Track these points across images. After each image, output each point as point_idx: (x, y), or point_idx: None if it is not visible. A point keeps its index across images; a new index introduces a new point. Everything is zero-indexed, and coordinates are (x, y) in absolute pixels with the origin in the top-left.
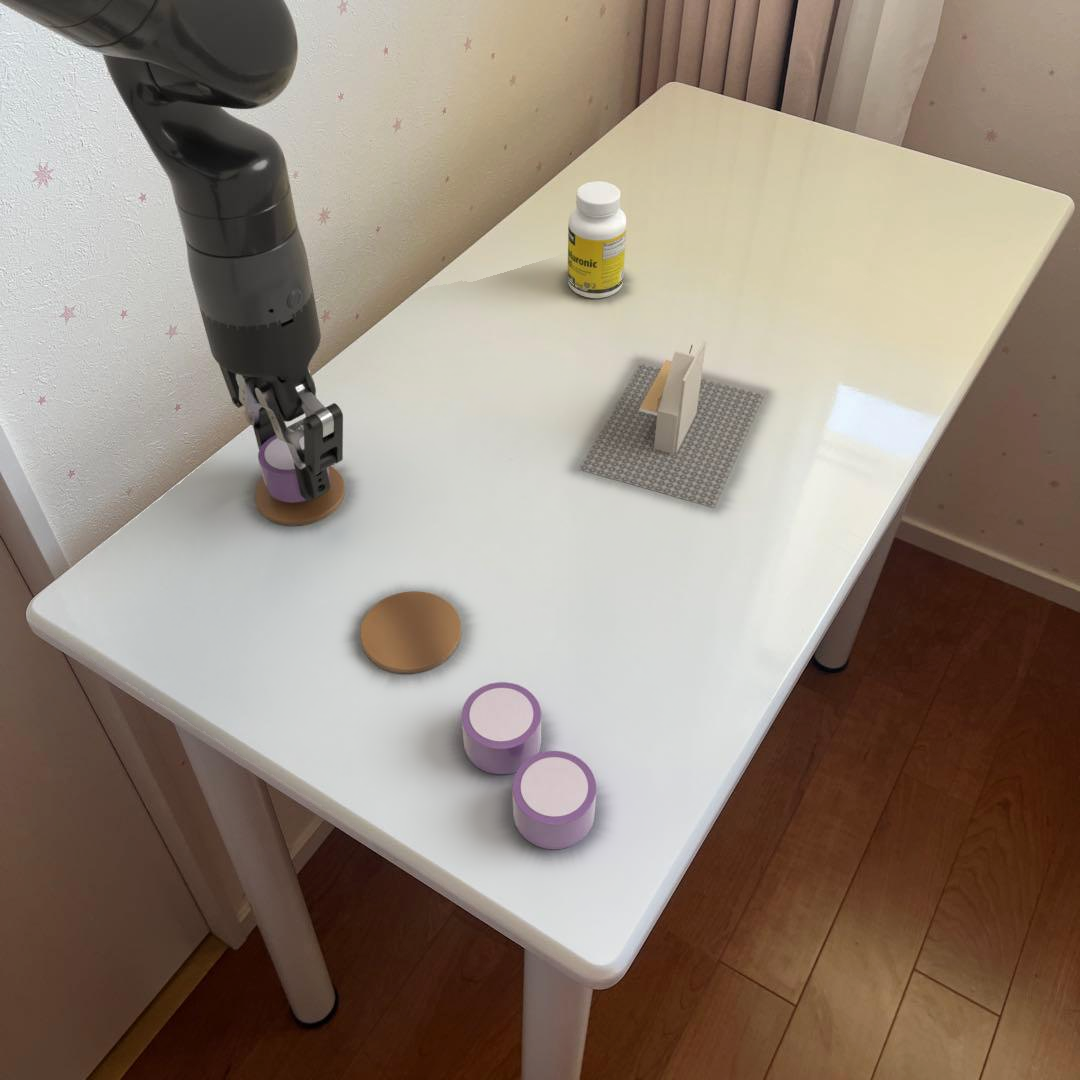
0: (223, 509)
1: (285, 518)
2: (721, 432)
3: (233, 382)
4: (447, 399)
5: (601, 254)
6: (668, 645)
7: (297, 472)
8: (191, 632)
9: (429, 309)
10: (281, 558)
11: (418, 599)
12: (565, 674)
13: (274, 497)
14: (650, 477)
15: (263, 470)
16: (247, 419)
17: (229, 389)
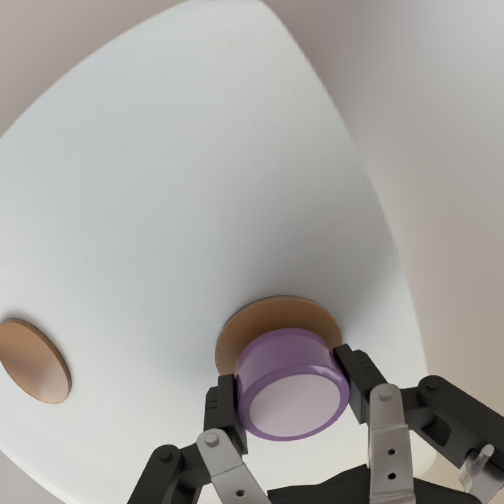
0: (310, 249)
1: (233, 327)
2: None
3: (451, 419)
4: (324, 475)
5: None
6: (28, 455)
7: (226, 413)
8: (90, 140)
9: (421, 462)
10: (166, 295)
11: (58, 389)
12: (5, 412)
13: (264, 334)
14: None
15: (286, 360)
16: (385, 391)
17: (453, 391)
